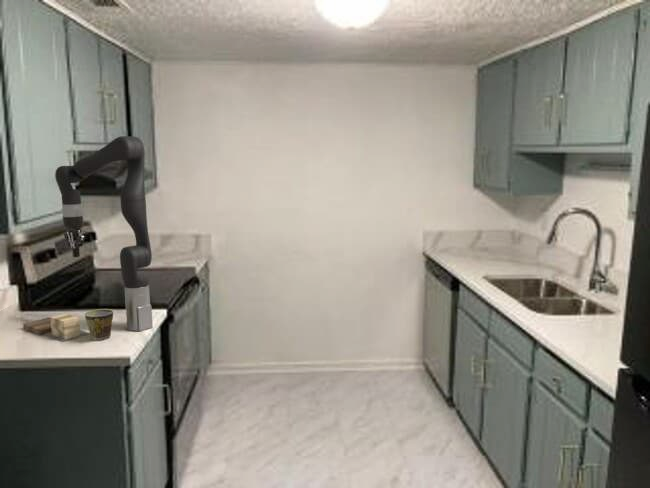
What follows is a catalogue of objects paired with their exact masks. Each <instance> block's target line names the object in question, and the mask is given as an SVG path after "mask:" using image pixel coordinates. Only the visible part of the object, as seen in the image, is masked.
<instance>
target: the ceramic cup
mask: <svg viewBox="0 0 650 488" xmlns="http://www.w3.org/2000/svg"><path fill="white" fill-rule="evenodd" d="M84 316H85V317H84V318H85V322H86V324H87V327H88V331H89V332H88V333H90V334H89V335H90V339H91V340H92V341H95V342H101V341H105V340H108V339H110V337H111V335H112V334H111V333H112V323H113V319H114V310H113V309H111V308H110V309H109V308H99V309H92V310H88V311H86V312H85V313H84Z"/></svg>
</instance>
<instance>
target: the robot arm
mask: <svg viewBox="0 0 650 488" xmlns="http://www.w3.org/2000/svg"><path fill="white" fill-rule="evenodd" d="M119 161H124V162H126V164H127V174H126V178H125V180H124V183H123V186H122V187H121V192H120V196H119V197H120V209H121V214H122V217H123V218H124V219H125V221H126V222H127V224H128V225H129V227H130V228H131V229H132V230H133V231H132V232H133V234H134V236H135V245H129V246H124V247H123V248H122V249H121V250H120V254H119V261H120V269H121V278H122V281H123V286H124V302H125V313H126V314H125V315H126V327H127V328H126V329H127V330H128V331H133V332H142V331H144V330H145V331H146V330H149V329H151V328H154V327H153V312H152V310H153V308H152V307H153V306H152V304H151V301H150V300H151V298H150V281H149V278H148V277H147V276H144V275H139V274H138V271H137V270H138V269H142V268H143V269H144V268H147V267H149V266H150V265H151V263H152V258H153V257H152V248H151V247H152V246H151V242H150V235H149V229H148V219H147V216H148V215H147V201H146V191H145V188H146V187H145V146H144V143H143V141H142V139H141V138H140V137H138V136H128V135H127V136H126V135H125V136H124V135H122V136H118V137H116V138H114V139H113V140H111V141H110V142H109V143H107V144H106V145H105V146H103V147H102V148H100V149H99V150H97V151H96V152H94V153H91V154H89V155H87V156H85V157H83V158H81V159H79V160H77V161H76V162H74V165H60V166H58V167H56V169H55V171H54V173H55V174H54V179H55V181H56V184H57V187H58V190H59V192H60V194H61V202H62V203H61V206H62V207H61V208H62V209H61V210H62V211H61V212H62V224H63V227H64V228H66V233H63V237H64V238H65V241H66V243H67V245H68V247H70V248H71V251H72V252H71V253H72V257H73V258H79V257H80V253H81V252H80V248H81V247H83V245H84V242H85V240H86V235H85V234H82V233H83V232H82V228H81V227H84V214H83V213H84V212H83V206H82V200H81V199H82V198H81V197H82V196H81V191H80V190H79V189H77V188H74V187H73V185H72V184H77V183H80V182H83V181H84V180H85V179H86V178H88V177H90V176H92V175H94V174H96V173H98V172H100V171H102V169H104V168H105V167H106V166H107V165H108V164H111V163H115V162H119Z"/></svg>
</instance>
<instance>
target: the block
mask: <svg viewBox="0 0 650 488" xmlns="http://www.w3.org/2000/svg"><path fill="white" fill-rule="evenodd" d="M50 320H51V331H52V335H55V336H57V337H60V338H63V339H69V338H73V337H76V336H80V330H81V326H80V317H78V316H75V315H72V314H69V313H66V312H65V313H62V314H61V313H60V314H56V315H52V316H50Z"/></svg>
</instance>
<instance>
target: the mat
mask: <svg viewBox="0 0 650 488" xmlns="http://www.w3.org/2000/svg"><path fill="white" fill-rule="evenodd" d="M87 335H90V332H88V331H84V330H82V329H80V336H76V337H73V338H69V339H63V338H60V337H57V336H55V335H52V332H49V333H45V334H44V335H43V336H46V337H49V338H51V339H54V340H56V341H59V342H67V341H70V340H74V339H78V338H81V337H83V336H84V337H85V336H87Z"/></svg>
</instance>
